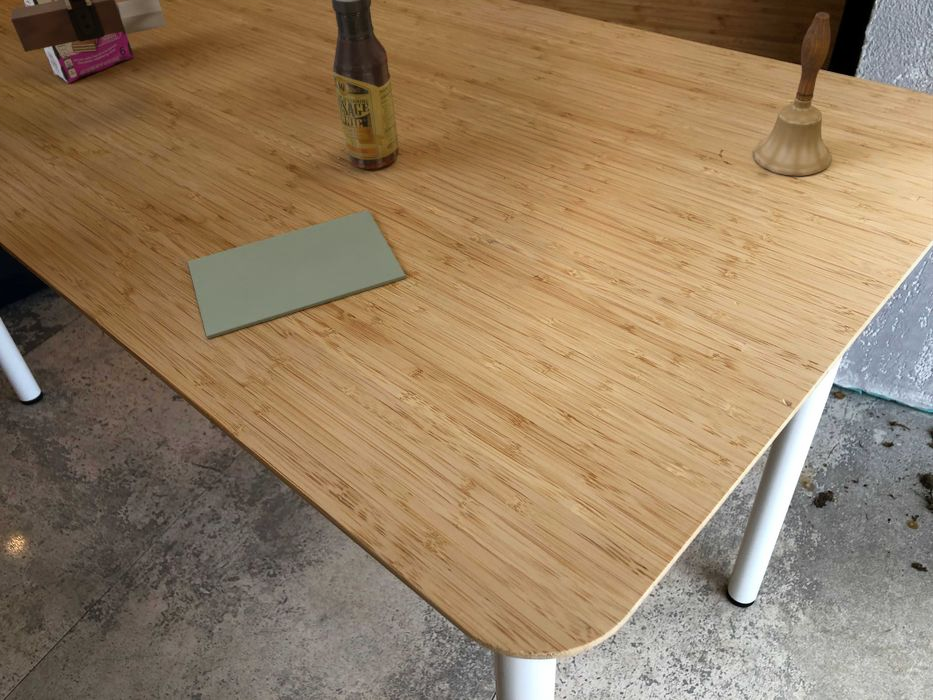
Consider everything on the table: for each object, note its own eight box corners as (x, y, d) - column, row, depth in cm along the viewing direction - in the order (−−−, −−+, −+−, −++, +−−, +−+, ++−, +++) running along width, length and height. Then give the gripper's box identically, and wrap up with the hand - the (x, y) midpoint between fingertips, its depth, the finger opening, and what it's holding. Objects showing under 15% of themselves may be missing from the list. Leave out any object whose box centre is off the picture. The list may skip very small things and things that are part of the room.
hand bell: (764, 132, 99) (789, -6, 88) (839, 146, 96) (874, 4, 85) (743, 167, 94) (766, 26, 83) (820, 183, 91) (855, 37, 80)
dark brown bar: (25, 55, 102) (10, 22, 100) (24, 38, 107) (11, 6, 104) (166, 26, 106) (156, -7, 104) (161, 10, 110) (151, -22, 108)
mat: (207, 339, 81) (206, 336, 80) (188, 264, 90) (187, 261, 89) (406, 278, 85) (405, 275, 85) (368, 212, 94) (368, 209, 94)
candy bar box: (69, 85, 124) (19, -30, 113) (54, 76, 127) (4, -38, 116) (137, 57, 129) (96, -56, 118) (122, 49, 132) (80, -62, 121)
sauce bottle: (338, 162, 102) (303, -5, 89) (376, 140, 105) (348, -24, 92) (374, 179, 99) (344, 8, 85) (413, 156, 102) (389, -12, 88)
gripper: (-4, -141, 99) (58, 16, 111) (-8, -108, 87) (62, 63, 100) (62, -152, 101) (116, 4, 113) (67, -121, 89) (127, 49, 101)
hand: (90, 30), depth 106 cm, fingers closed on dark brown bar, 3 cm apart
